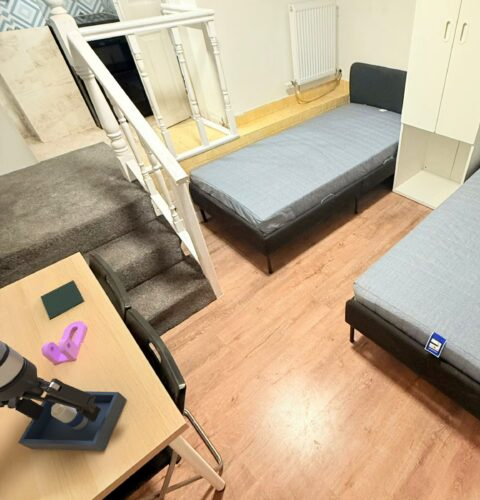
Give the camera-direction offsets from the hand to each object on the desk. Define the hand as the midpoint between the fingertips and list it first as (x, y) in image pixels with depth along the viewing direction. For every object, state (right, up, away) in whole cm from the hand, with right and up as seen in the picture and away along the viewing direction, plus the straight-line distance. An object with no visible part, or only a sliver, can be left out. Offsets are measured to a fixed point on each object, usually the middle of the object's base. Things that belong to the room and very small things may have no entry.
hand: (68, 414), depth 77 cm
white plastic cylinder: (0, -4, +4) cm, 6 cm away
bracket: (-14, +11, +21) cm, 27 cm away
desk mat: (-26, +22, +32) cm, 47 cm away
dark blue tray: (0, -4, +4) cm, 6 cm away
